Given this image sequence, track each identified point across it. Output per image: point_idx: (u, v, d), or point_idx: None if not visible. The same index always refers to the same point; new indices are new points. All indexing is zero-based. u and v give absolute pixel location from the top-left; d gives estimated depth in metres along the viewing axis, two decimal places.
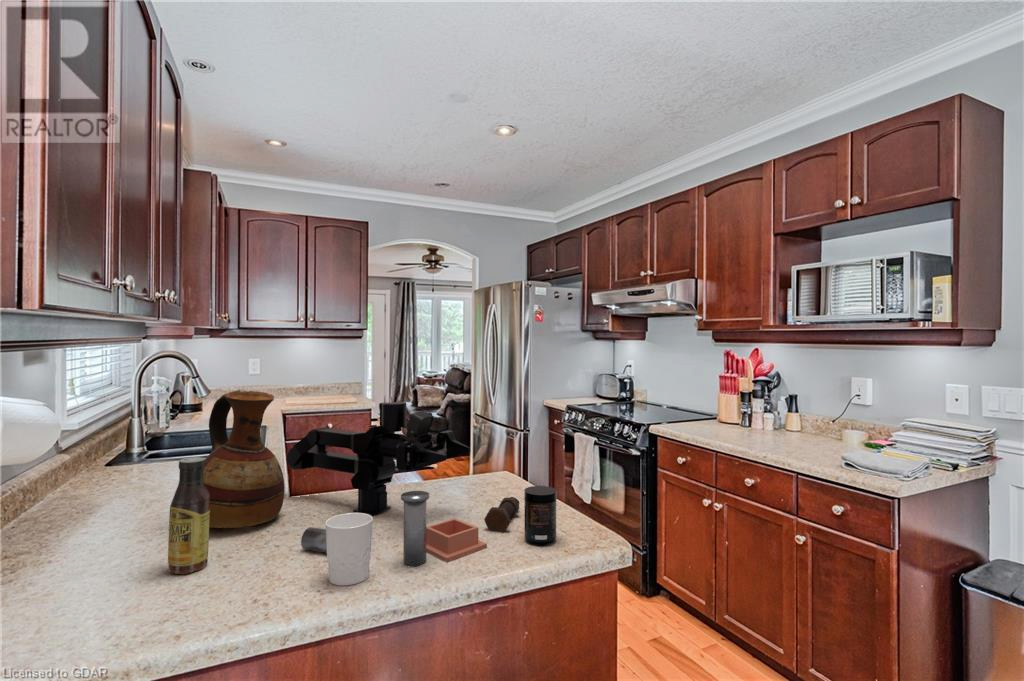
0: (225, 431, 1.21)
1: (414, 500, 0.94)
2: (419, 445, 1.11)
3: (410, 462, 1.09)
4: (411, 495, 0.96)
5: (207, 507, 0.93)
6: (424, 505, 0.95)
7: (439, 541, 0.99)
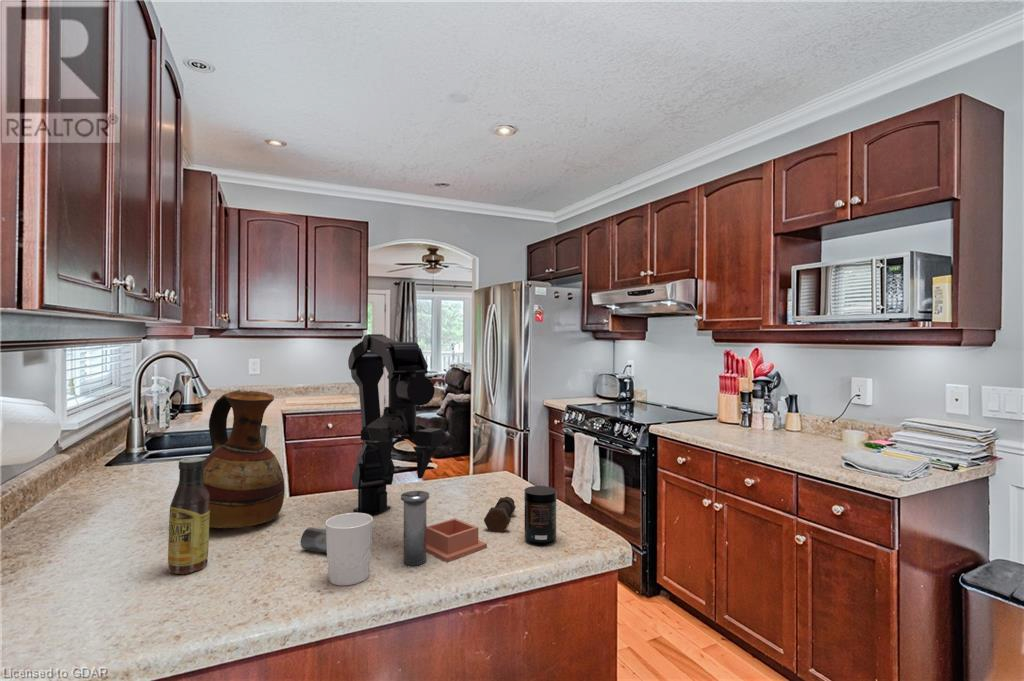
0: (225, 431, 1.21)
1: (414, 500, 0.94)
2: (373, 446, 1.09)
3: None
4: (411, 495, 0.96)
5: (207, 507, 0.93)
6: (425, 505, 0.95)
7: (439, 541, 0.99)
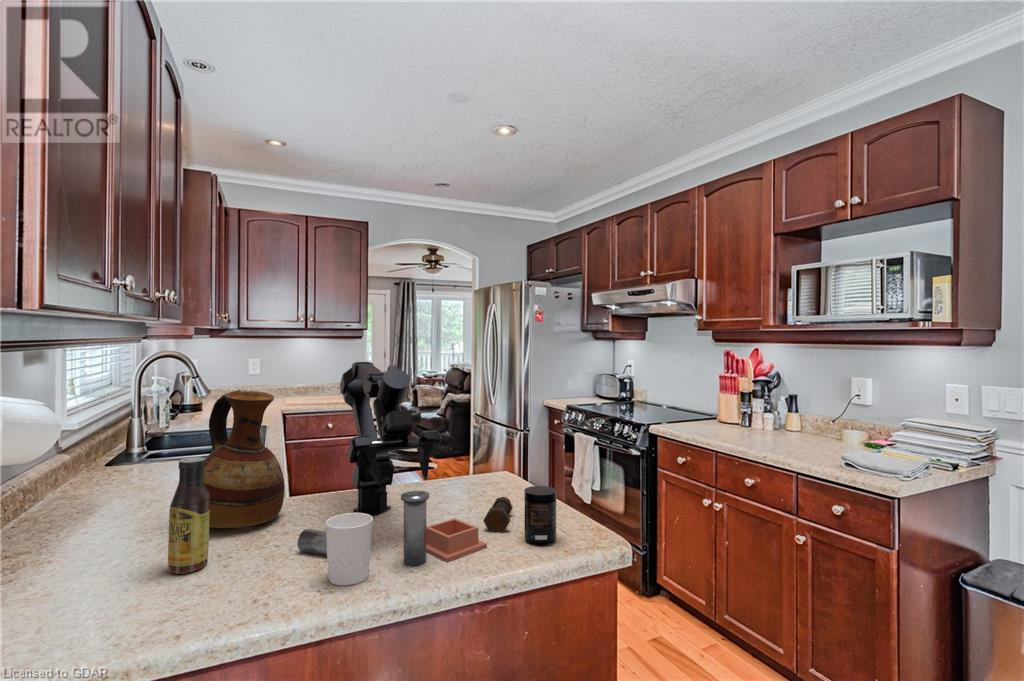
0: (225, 431, 1.21)
1: (414, 500, 0.94)
2: (371, 452, 1.02)
3: (357, 459, 1.04)
4: (411, 495, 0.96)
5: (207, 507, 0.93)
6: (425, 505, 0.95)
7: (439, 541, 0.99)
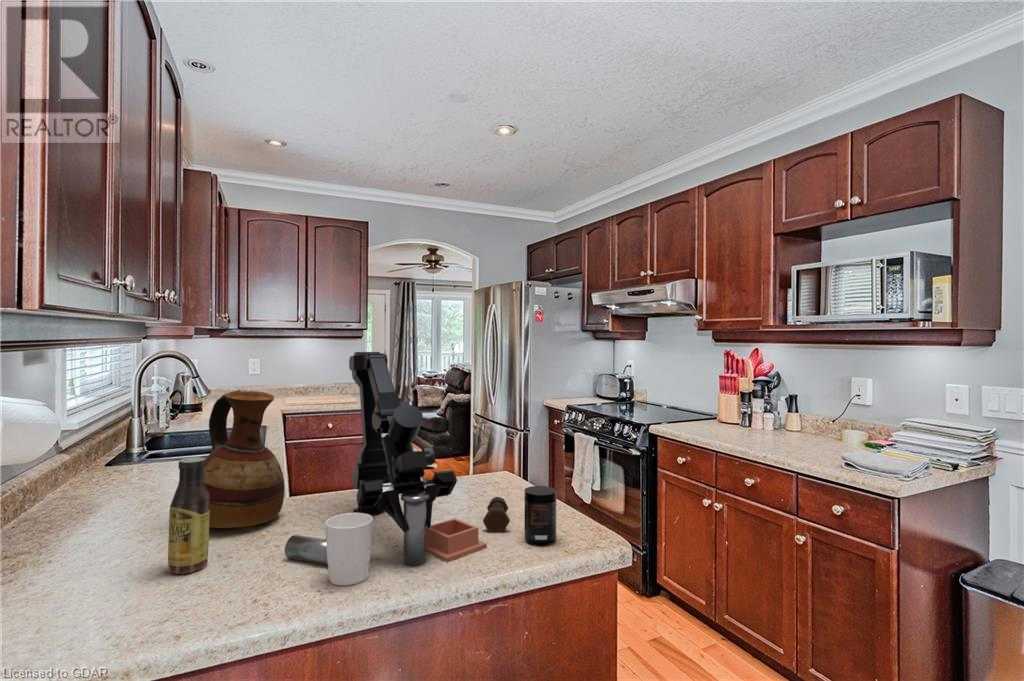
0: (225, 431, 1.21)
1: (414, 500, 0.94)
2: (394, 496, 0.96)
3: (379, 503, 0.97)
4: (411, 495, 0.96)
5: (207, 507, 0.93)
6: (425, 505, 0.95)
7: (439, 541, 0.99)
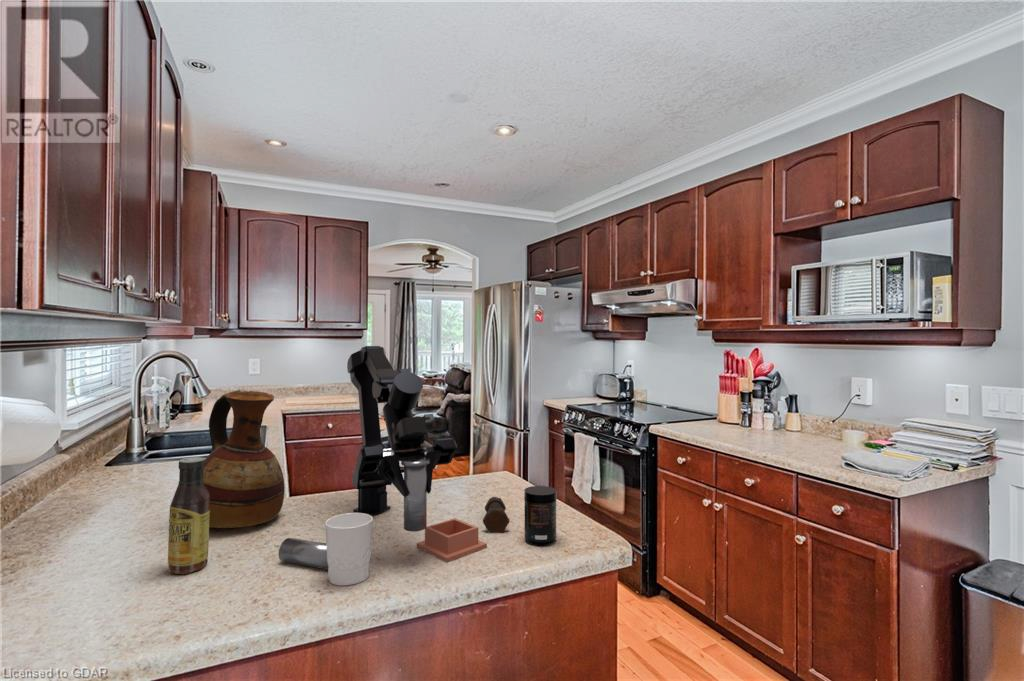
0: (225, 431, 1.21)
1: (414, 464, 0.93)
2: (394, 461, 0.95)
3: (379, 468, 0.97)
4: (411, 460, 0.96)
5: (207, 507, 0.93)
6: (425, 470, 0.95)
7: (439, 541, 0.99)
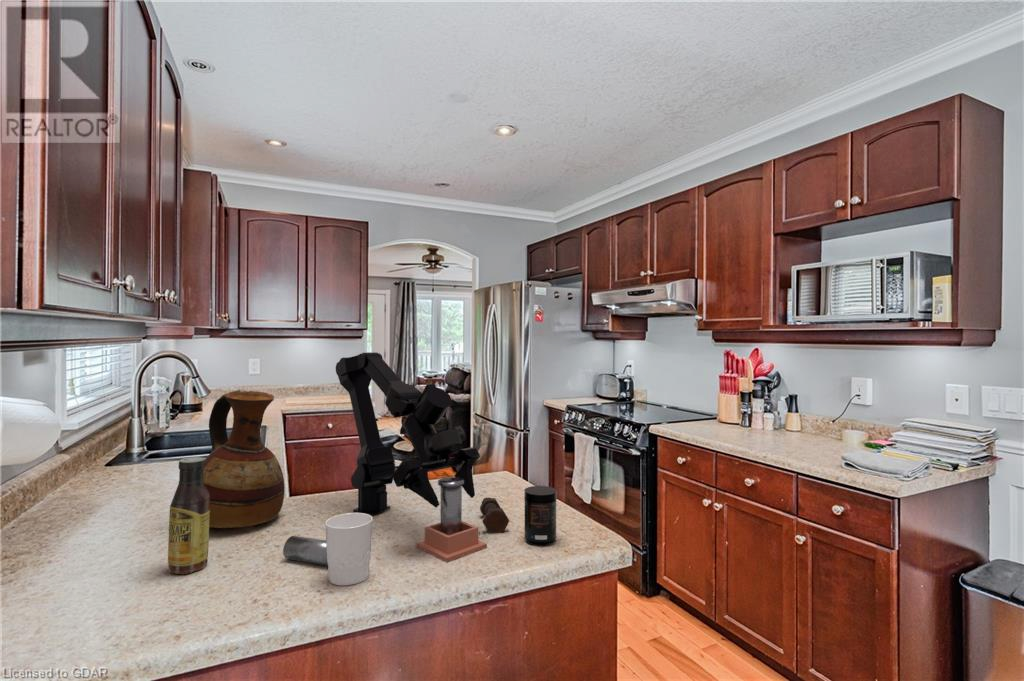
0: (225, 431, 1.21)
1: (455, 485, 1.01)
2: (424, 474, 1.00)
3: (406, 482, 1.01)
4: (448, 481, 1.02)
5: (207, 507, 0.93)
6: (461, 489, 1.03)
7: (439, 541, 0.99)
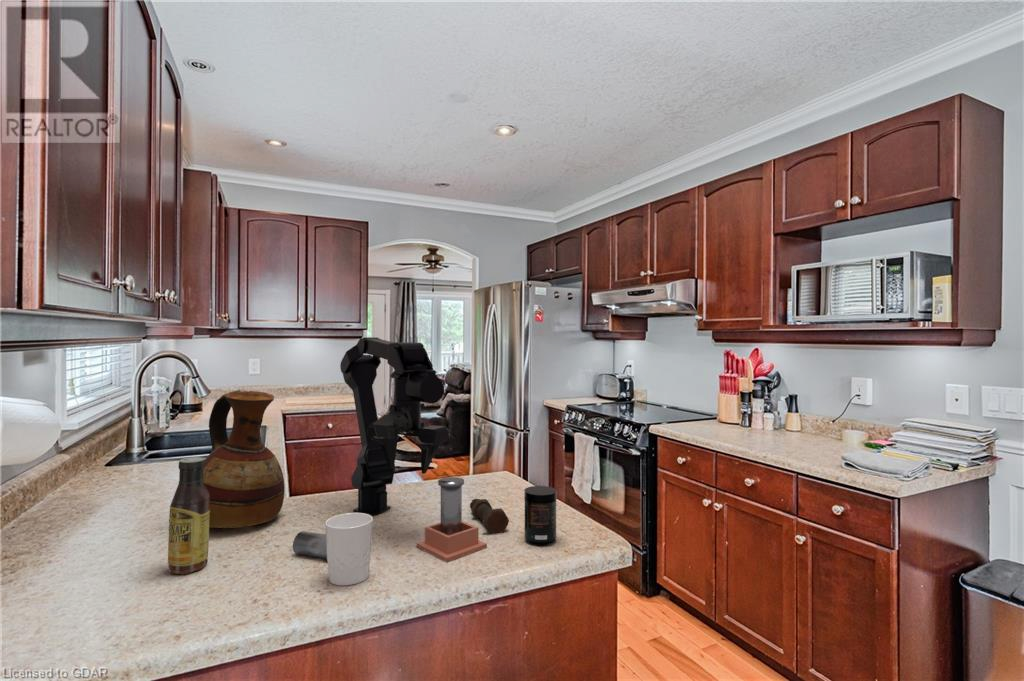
0: (225, 431, 1.21)
1: (455, 485, 1.01)
2: (379, 442, 1.13)
3: None
4: (448, 481, 1.02)
5: (207, 507, 0.93)
6: (461, 489, 1.03)
7: (439, 541, 0.99)
